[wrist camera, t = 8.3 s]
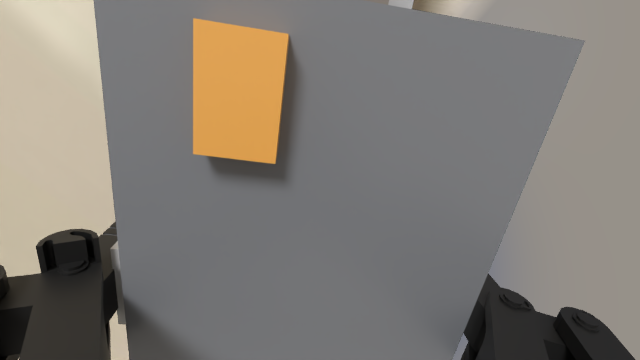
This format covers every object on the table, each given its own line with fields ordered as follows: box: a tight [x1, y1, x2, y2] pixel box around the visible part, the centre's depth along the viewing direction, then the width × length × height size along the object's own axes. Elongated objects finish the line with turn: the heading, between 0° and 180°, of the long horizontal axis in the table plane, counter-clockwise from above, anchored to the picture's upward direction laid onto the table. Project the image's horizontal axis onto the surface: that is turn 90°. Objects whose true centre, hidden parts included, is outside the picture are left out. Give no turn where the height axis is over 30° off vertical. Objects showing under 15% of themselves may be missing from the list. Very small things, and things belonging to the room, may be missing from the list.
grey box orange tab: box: [94, 0, 585, 360], centre depth 14 cm, size 16×9×12 cm, turn 172°
